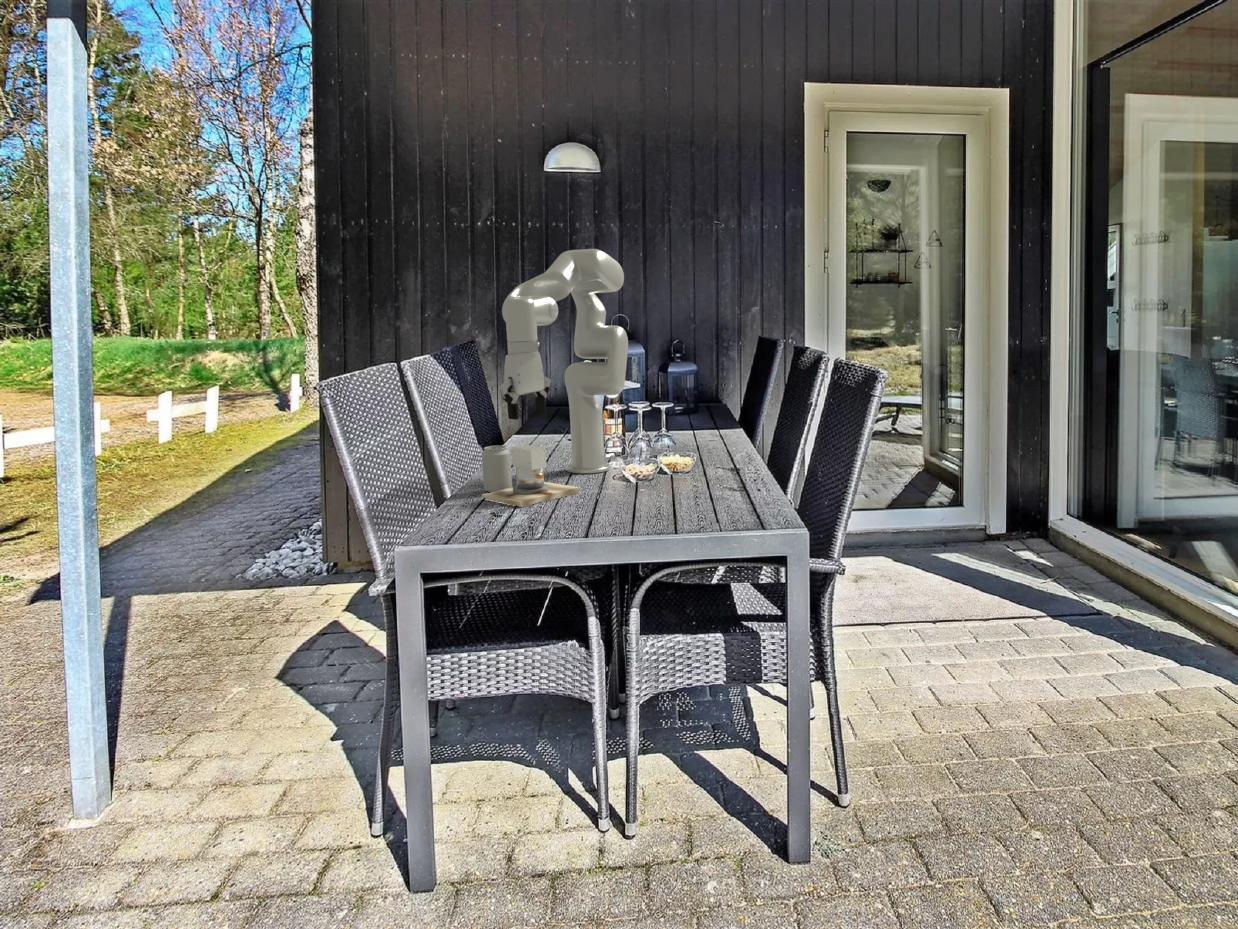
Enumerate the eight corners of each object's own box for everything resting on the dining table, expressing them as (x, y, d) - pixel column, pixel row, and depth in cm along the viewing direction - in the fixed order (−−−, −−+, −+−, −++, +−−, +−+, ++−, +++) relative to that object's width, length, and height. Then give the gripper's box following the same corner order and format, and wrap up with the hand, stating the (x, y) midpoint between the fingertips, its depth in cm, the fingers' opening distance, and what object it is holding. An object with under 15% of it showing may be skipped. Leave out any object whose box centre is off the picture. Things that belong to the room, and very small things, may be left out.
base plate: (540, 486, 236) (540, 477, 236) (579, 493, 226) (578, 483, 226) (482, 500, 222) (481, 490, 221) (520, 507, 212) (520, 497, 211)
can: (515, 487, 236) (512, 444, 233) (509, 493, 228) (506, 448, 226) (487, 488, 236) (485, 444, 234) (481, 494, 229) (477, 449, 227)
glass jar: (509, 485, 225) (507, 447, 223) (532, 481, 229) (530, 443, 227) (531, 491, 217) (529, 451, 215) (554, 486, 221) (552, 447, 219)
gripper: (536, 345, 226) (541, 410, 230) (486, 351, 213) (492, 420, 217) (557, 345, 221) (562, 412, 225) (507, 351, 208) (513, 422, 212)
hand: (527, 416), depth 221 cm, fingers open, 9 cm apart
